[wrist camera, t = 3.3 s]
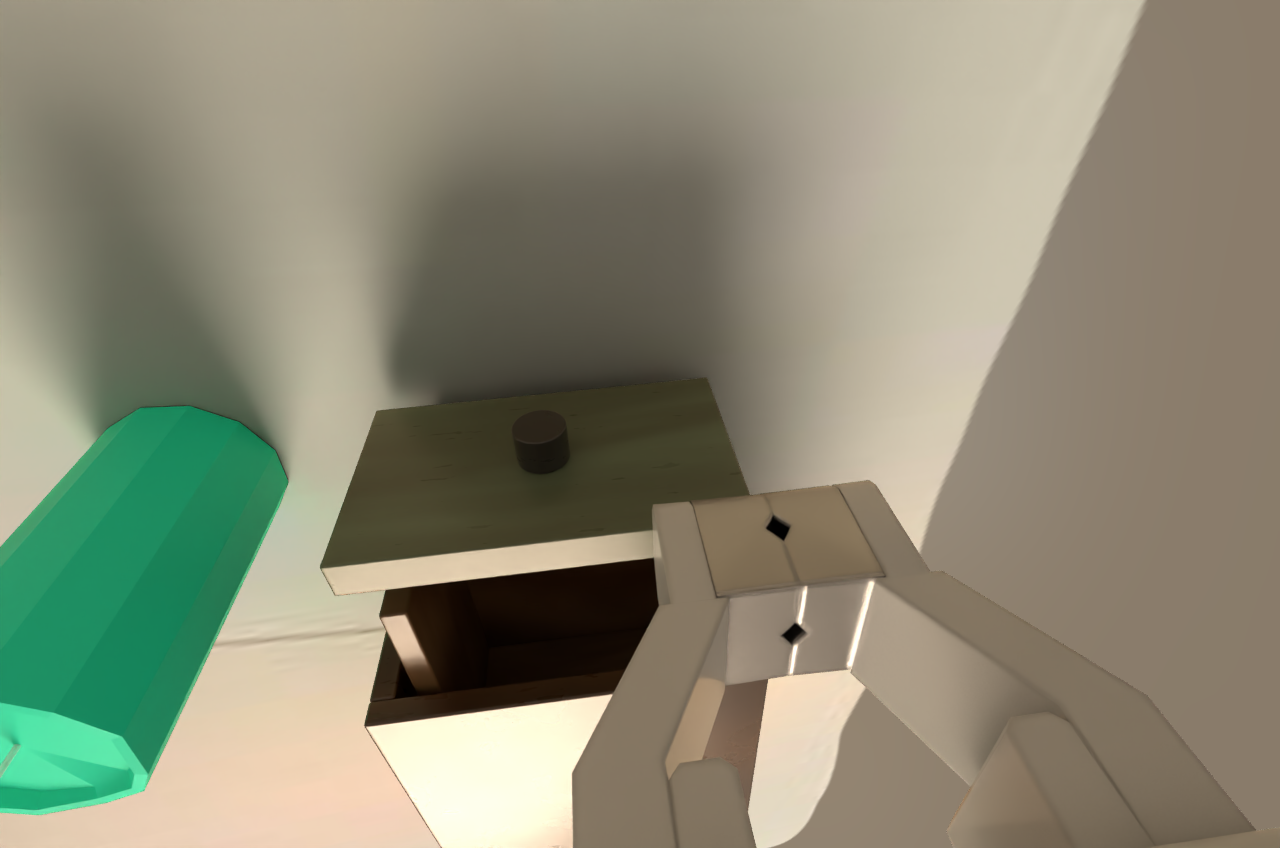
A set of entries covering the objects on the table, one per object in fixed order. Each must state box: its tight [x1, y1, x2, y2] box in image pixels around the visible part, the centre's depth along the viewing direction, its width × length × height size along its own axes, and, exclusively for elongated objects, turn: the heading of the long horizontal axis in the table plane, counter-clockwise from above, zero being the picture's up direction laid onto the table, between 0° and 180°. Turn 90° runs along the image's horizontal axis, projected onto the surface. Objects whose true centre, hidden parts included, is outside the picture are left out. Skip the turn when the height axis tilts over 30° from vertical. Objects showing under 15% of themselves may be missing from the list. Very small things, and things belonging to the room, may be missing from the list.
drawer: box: [320, 378, 750, 696], centre depth 23 cm, size 15×11×7 cm
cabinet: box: [364, 631, 768, 848], centre depth 27 cm, size 15×13×9 cm
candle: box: [0, 406, 288, 815], centre depth 18 cm, size 6×6×12 cm
